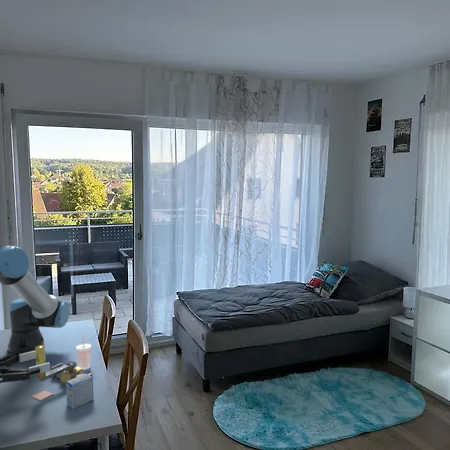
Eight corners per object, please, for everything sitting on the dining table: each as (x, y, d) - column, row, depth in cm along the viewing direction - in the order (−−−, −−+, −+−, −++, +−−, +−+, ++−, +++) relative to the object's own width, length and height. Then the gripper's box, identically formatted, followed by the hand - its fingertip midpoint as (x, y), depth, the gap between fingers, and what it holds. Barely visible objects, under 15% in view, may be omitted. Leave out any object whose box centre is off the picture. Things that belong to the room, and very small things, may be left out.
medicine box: (86, 396, 149) (86, 372, 148) (94, 400, 147) (93, 376, 146) (66, 405, 143) (65, 381, 142) (73, 409, 140) (72, 385, 140)
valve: (50, 378, 162) (49, 364, 162) (62, 373, 167) (62, 359, 166) (81, 391, 153) (80, 375, 152) (93, 384, 158) (93, 370, 157)
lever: (72, 363, 162) (70, 333, 161) (78, 365, 160) (77, 335, 159) (34, 380, 148) (32, 347, 147) (41, 383, 146) (39, 349, 145)
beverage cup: (81, 372, 168) (80, 338, 167) (73, 367, 172) (72, 334, 170) (95, 366, 173) (93, 334, 171) (87, 362, 177) (85, 330, 175)
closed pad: (31, 397, 148) (31, 396, 148) (44, 391, 153) (44, 390, 153) (40, 401, 146) (40, 400, 146) (53, 394, 150) (53, 393, 150)
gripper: (-30, 374, 146) (35, 358, 159) (-18, 404, 126) (54, 383, 139) (-31, 353, 145) (34, 339, 158) (-20, 380, 125) (53, 361, 138)
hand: (44, 359), depth 148 cm, fingers open, 13 cm apart
